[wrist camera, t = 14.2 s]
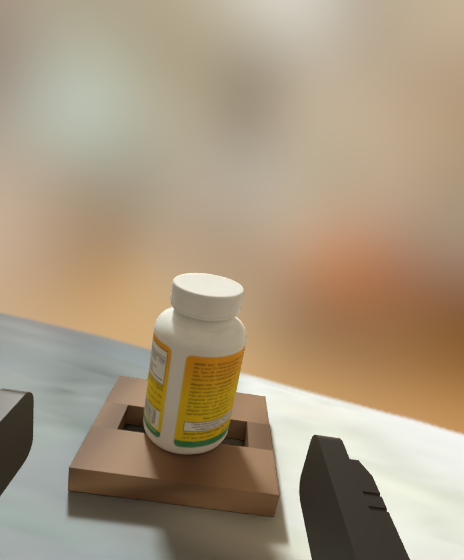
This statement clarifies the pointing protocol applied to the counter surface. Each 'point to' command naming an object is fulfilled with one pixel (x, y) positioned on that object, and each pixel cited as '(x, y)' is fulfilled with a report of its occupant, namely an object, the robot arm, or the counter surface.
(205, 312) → the supplement bottle
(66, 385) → the counter surface
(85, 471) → the walnut trivet
